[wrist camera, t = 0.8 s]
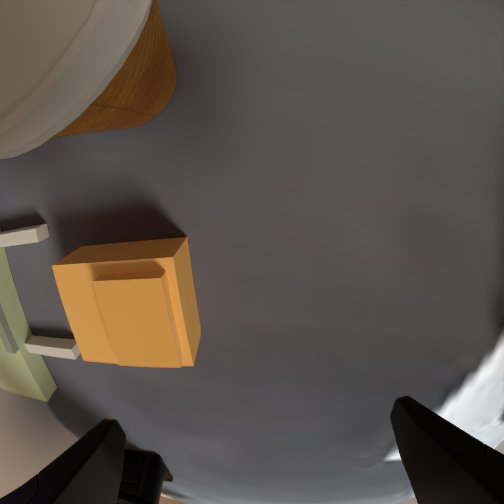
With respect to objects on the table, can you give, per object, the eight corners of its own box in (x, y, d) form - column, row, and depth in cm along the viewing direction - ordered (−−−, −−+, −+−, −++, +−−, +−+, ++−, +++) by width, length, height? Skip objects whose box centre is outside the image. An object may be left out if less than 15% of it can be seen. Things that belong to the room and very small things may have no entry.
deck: (103, 394, 23) (91, 418, 20) (11, 376, 23) (-2, 392, 19) (38, 151, 16) (10, 152, 13) (-47, 187, 16) (-69, 193, 13)
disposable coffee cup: (68, 51, 14) (-46, 3, 2) (193, 6, 14) (147, -116, 2) (79, 170, 17) (-64, 200, 5) (214, 133, 16) (157, 85, 5)
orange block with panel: (201, 331, 20) (191, 376, 16) (104, 331, 20) (78, 369, 16) (187, 236, 18) (168, 264, 14) (81, 246, 18) (43, 271, 14)
